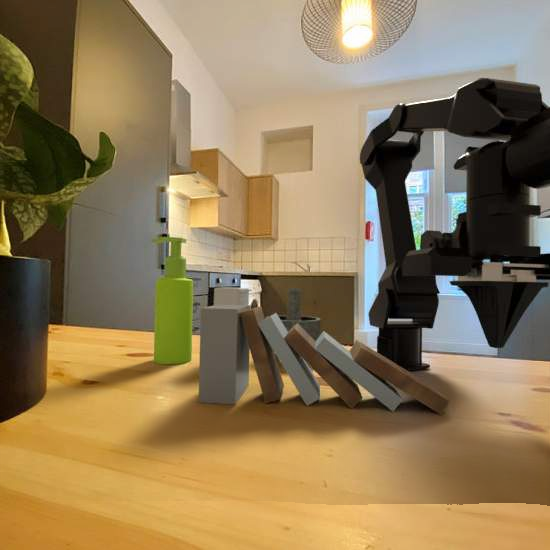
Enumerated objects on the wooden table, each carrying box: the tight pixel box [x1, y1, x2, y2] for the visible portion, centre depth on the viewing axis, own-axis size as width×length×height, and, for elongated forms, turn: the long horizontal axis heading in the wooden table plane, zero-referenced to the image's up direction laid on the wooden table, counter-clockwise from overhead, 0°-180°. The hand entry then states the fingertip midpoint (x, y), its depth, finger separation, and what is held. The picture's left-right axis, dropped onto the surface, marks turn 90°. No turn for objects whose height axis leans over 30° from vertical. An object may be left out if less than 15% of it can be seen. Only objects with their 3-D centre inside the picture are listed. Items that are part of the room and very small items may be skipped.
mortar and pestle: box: [264, 287, 322, 361], centre depth 61 cm, size 11×9×12 cm
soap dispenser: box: [150, 236, 194, 365], centre depth 57 cm, size 6×7×20 cm
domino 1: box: [240, 305, 285, 404], centre depth 40 cm, size 2×5×10 cm, turn 173°
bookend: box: [198, 304, 251, 405], centre depth 40 cm, size 4×7×10 cm, turn 173°
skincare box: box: [213, 287, 250, 306], centre depth 57 cm, size 6×4×12 cm
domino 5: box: [349, 339, 450, 415], centre depth 38 cm, size 2×5×10 cm
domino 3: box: [284, 323, 363, 409], centre depth 39 cm, size 2×5×10 cm
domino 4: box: [315, 330, 404, 412], centre depth 38 cm, size 2×5×10 cm
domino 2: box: [258, 312, 321, 406], centre depth 39 cm, size 2×5×10 cm
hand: (495, 347), depth 37 cm, fingers closed
